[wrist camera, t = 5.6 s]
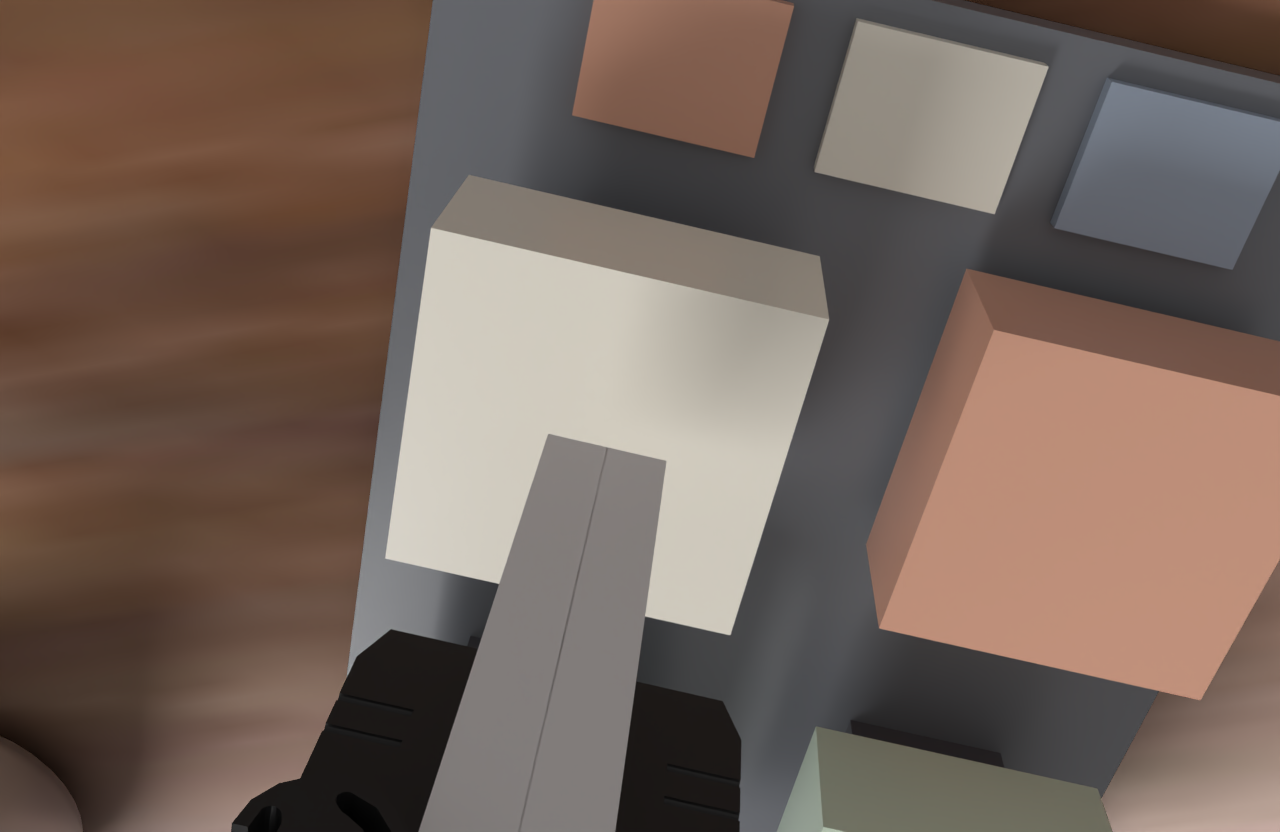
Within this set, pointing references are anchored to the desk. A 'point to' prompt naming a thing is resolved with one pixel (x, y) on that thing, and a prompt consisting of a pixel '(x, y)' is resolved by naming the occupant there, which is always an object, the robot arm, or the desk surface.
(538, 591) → the robot arm
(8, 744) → the plastic bottle
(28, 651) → the desk surface
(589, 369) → the key cream
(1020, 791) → the key sage
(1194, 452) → the key terracotta
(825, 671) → the keypad
